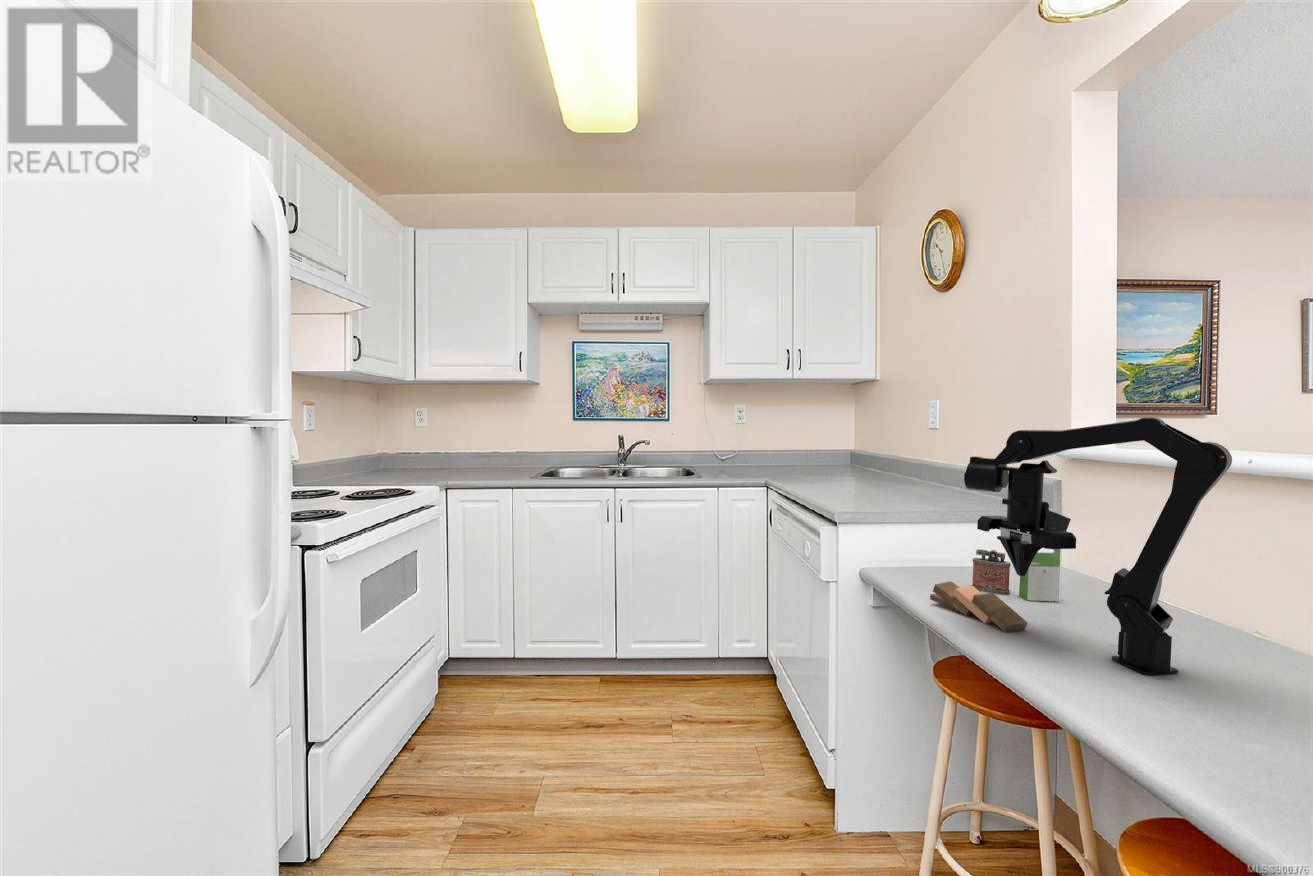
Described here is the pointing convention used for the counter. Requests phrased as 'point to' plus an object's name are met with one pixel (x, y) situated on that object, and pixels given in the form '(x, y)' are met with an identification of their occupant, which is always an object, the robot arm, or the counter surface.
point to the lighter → (991, 572)
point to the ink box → (1042, 578)
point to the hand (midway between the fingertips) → (1021, 575)
